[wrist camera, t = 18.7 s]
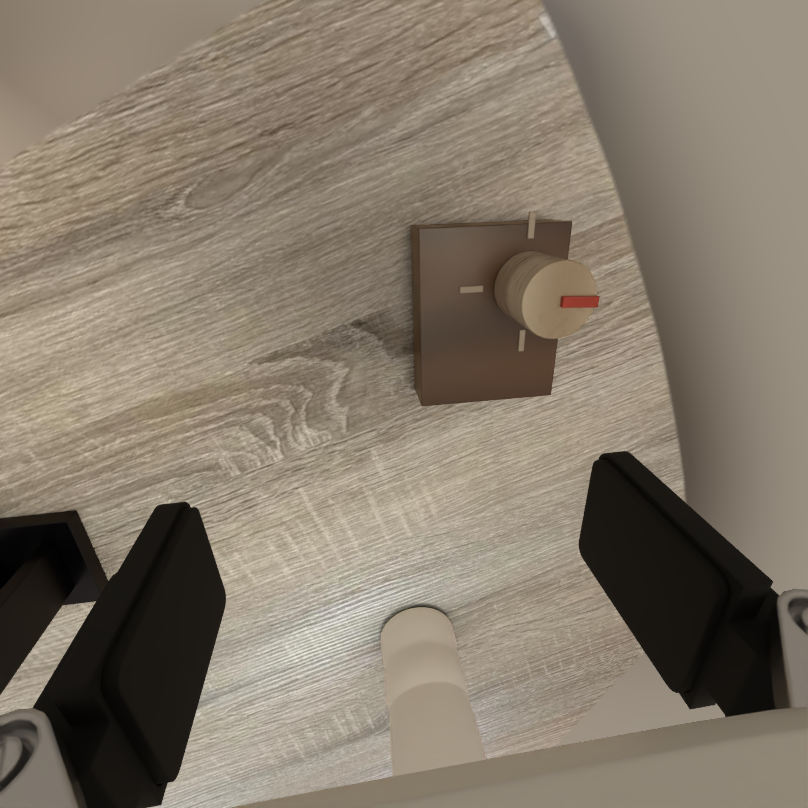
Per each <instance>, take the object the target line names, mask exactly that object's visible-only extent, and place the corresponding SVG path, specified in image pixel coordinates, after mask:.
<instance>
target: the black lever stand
mask: <svg viewBox="0 0 808 808" xmlns="http://www.w3.org/2000/svg"><path fill="white" fill-rule="evenodd" d="M107 583H108V581H107V579H106V576H105V574H104V572H103V570H102V567H101V565H100V563H99V561H98V559H97V556H96V554H95V552H94V550H93V547H92V545H91V543H90V541H89V539H88V536H87V534H86V532H85V530H84V527H83V525H82V523H81V521H80V519H79V516H78V514H77V512H76V511H71V512H61V513H52V514H42V515H32V516H23V517H13V518H4V519H0V695H1V693H2V692H3V690H4V689H5V687H6V686H7V685H8V683H9V682H10V680H11V679H12V677H13V676H14V674H15V673H16V672H17V670H18V669H19V667H20V666H21V664H22V663H23V661H24V660H25V659H26V657H27V656H28V654H29V653H30V651H31V650H32V648H33V647H34V646H35V644H36V643H37V641H38V640H39V638H40V637H41V635H42V634H43V633H44V631H45V630H46V628H47V627H48V625H49V624H50V622H51V621H52V620H53V618H54V617H55V615H56V614H57V612H58V611H59V609H60V608H61V607H62V605H69V604H77V603H85V602H93V601H97V599H98V598H99V596H100V594H101V593H102V591H103V589H104V588H105V586H106V584H107Z"/></svg>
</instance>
